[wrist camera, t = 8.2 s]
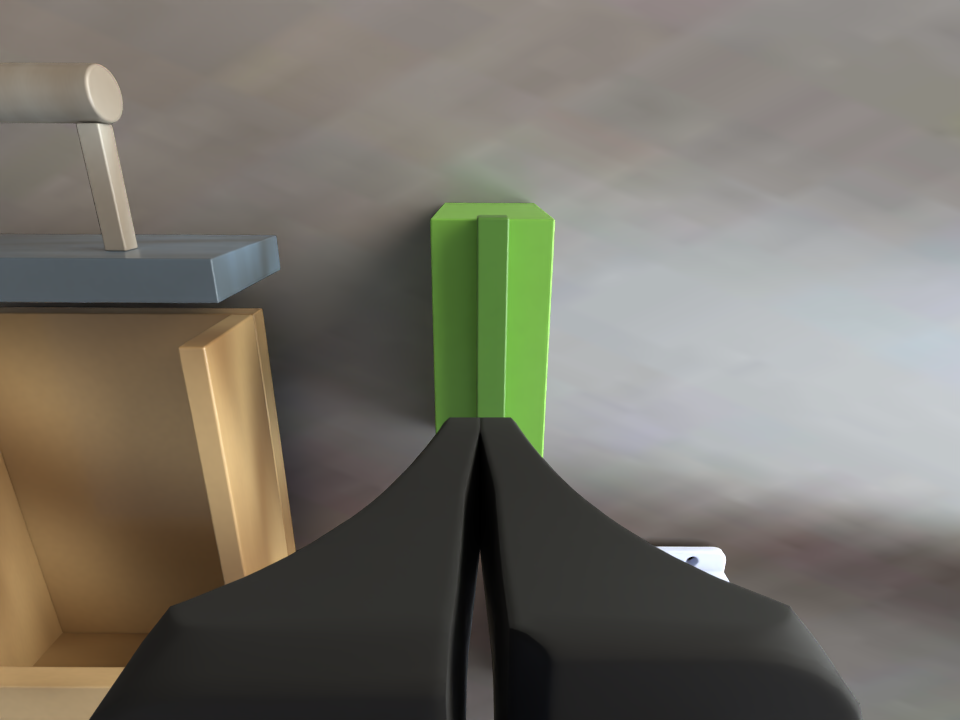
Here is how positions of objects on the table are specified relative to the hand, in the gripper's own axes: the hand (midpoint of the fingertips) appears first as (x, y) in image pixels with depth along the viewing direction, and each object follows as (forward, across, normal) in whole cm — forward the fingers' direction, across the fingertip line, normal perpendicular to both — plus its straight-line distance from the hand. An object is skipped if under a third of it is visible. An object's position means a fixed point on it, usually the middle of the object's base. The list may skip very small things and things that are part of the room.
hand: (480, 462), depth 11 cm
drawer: (+10, +13, +3) cm, 17 cm away
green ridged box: (+10, 0, 0) cm, 10 cm away
